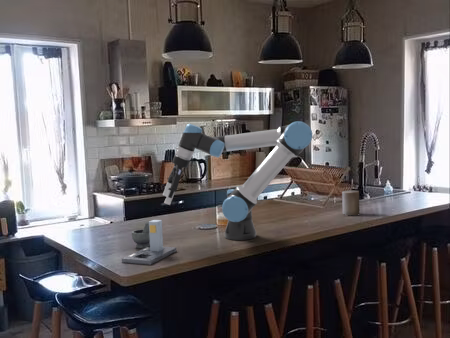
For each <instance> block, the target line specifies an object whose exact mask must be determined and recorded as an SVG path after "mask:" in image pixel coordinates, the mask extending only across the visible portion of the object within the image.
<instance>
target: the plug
mask: <svg viewBox="0 0 450 338" xmlns="http://www.w3.org/2000/svg"><path fill="white" fill-rule="evenodd" d="M149 235H150V251H157V252H160V251H162V250H163V247H164V239H163V237H164V236H163V220H162V219H152V220H149Z"/></svg>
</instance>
